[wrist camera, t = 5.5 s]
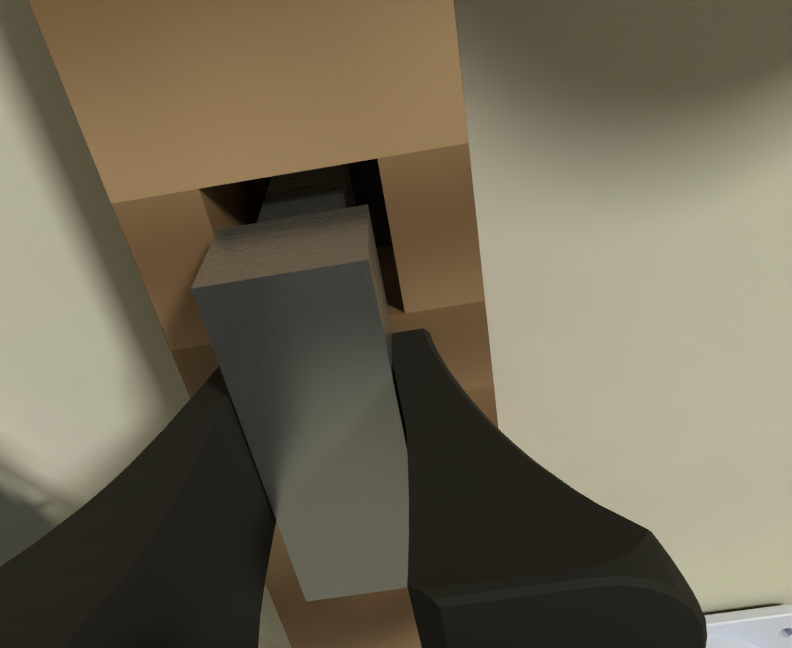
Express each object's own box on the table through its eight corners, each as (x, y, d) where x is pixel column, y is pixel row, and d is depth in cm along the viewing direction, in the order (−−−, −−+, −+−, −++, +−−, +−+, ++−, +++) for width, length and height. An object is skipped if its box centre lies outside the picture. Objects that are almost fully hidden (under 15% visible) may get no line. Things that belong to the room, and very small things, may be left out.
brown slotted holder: (504, 577, 21) (523, 668, 19) (317, 603, 22) (312, 696, 19) (392, -389, 10) (402, -490, 7) (-3, -306, 10) (-125, -375, 8)
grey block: (416, 403, 18) (434, 584, 13) (321, 418, 18) (305, 601, 13) (366, 140, 14) (368, 259, 9) (248, 160, 14) (190, 288, 9)
